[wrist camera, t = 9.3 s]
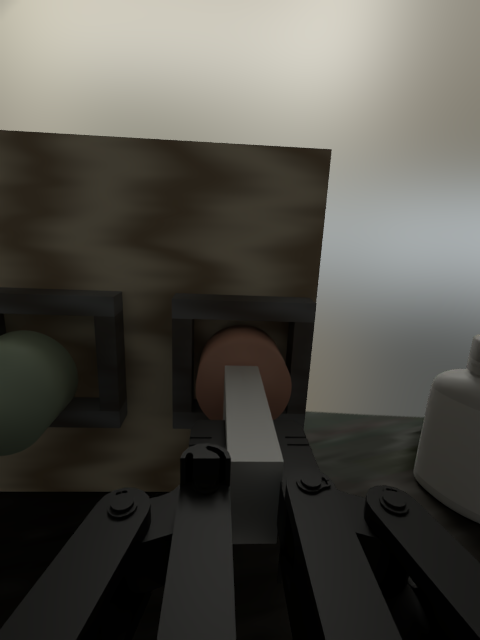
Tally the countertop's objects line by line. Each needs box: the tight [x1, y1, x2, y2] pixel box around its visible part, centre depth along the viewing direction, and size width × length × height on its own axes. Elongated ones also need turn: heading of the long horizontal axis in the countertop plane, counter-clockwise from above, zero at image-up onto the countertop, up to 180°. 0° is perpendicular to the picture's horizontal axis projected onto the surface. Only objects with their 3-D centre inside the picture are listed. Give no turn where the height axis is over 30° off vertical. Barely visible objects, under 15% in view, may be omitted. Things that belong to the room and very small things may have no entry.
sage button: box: [0, 330, 78, 456], centre depth 15 cm, size 4×3×4 cm
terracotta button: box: [196, 325, 292, 420], centre depth 17 cm, size 4×3×4 cm
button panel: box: [0, 130, 331, 492], centre depth 20 cm, size 28×4×20 cm, turn 93°
